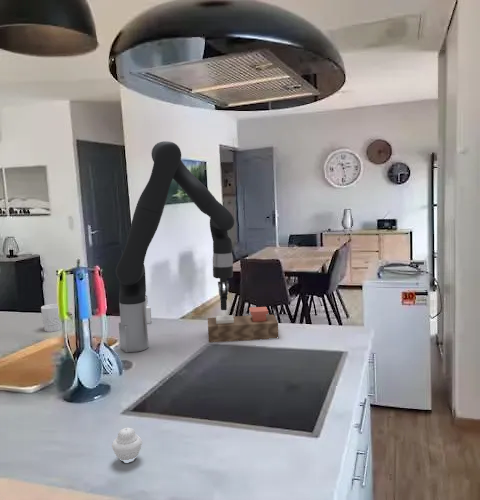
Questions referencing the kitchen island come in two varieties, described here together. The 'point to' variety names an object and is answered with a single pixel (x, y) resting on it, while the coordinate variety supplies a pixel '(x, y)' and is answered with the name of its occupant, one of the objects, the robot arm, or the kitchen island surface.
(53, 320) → the white cup
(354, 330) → the kitchen island surface
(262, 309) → the red square flowerpot
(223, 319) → the white block
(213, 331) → the button box
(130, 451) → the muffin
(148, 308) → the medicine bottle
